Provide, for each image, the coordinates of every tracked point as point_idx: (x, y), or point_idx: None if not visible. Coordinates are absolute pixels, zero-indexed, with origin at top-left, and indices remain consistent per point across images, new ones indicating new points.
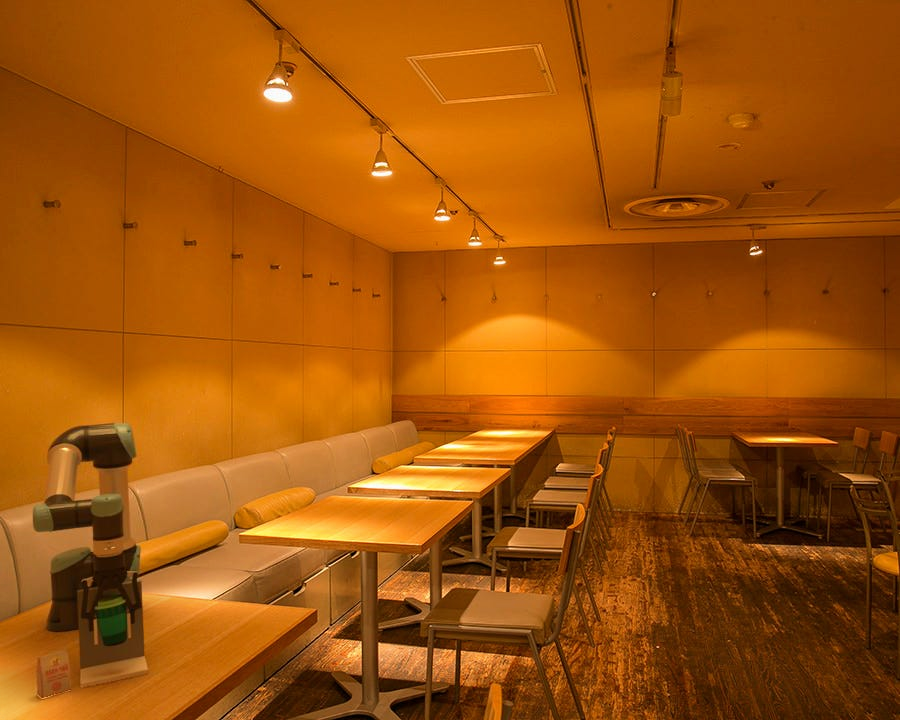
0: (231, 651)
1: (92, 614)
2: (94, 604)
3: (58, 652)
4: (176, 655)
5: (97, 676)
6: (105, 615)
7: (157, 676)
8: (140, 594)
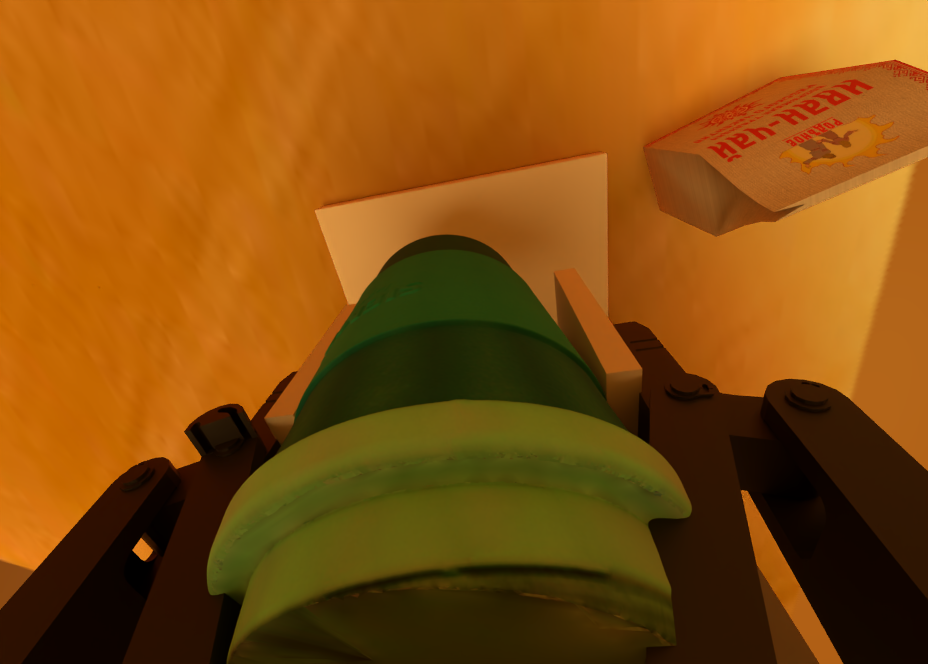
0: (38, 312)
1: (682, 416)
2: (728, 558)
3: (844, 179)
4: (261, 355)
5: (534, 216)
6: (503, 344)
7: (267, 155)
8: None
